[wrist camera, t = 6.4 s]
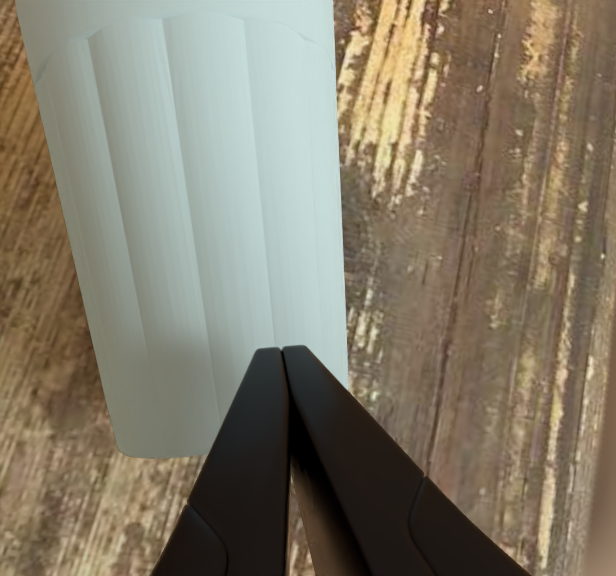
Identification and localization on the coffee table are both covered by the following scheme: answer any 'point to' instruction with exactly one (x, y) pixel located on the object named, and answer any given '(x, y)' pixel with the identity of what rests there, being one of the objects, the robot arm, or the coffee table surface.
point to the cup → (193, 196)
